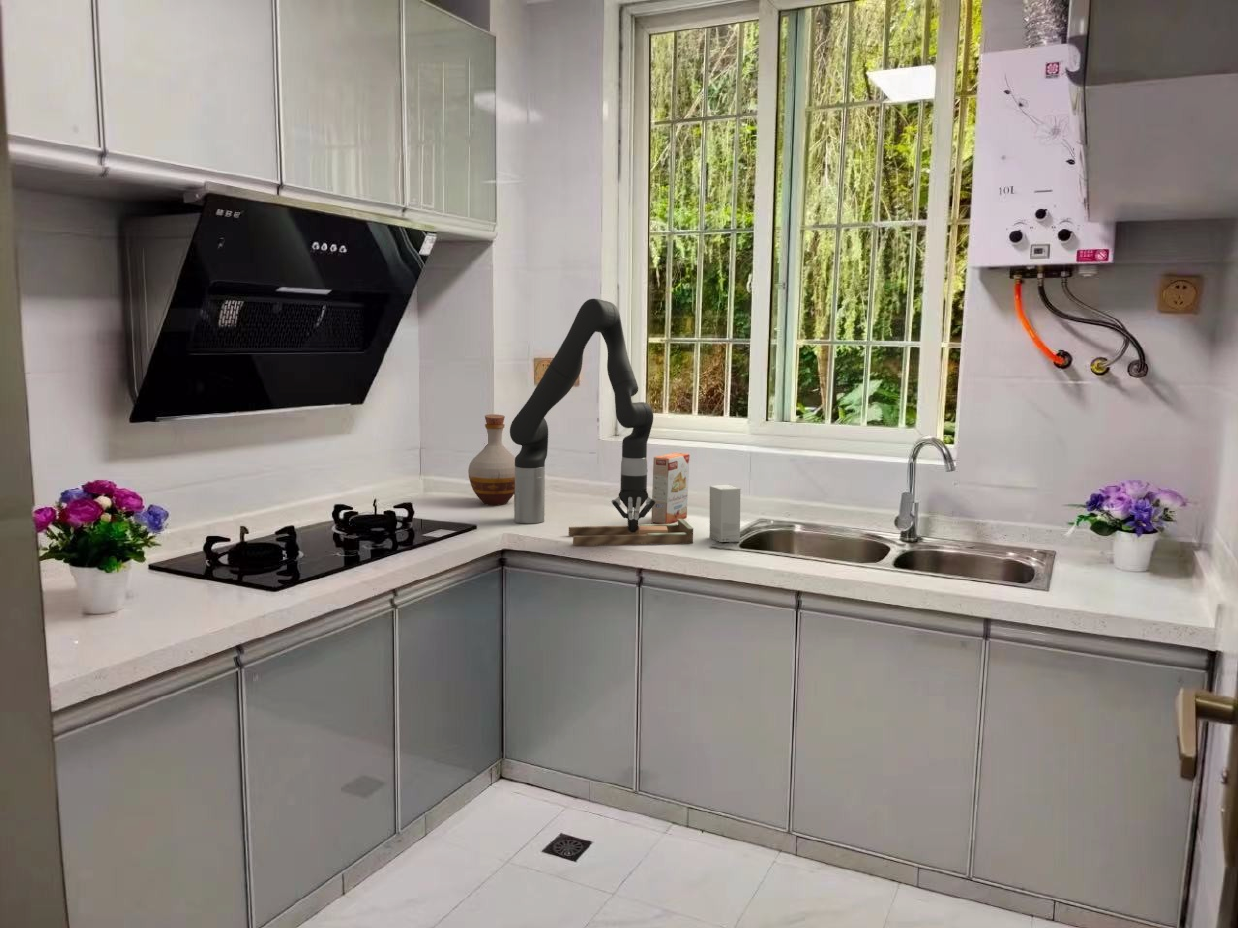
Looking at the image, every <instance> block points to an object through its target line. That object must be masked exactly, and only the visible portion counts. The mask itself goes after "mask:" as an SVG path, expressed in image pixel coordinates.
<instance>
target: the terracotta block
mask: <svg viewBox="0 0 1238 928" xmlns="http://www.w3.org/2000/svg"><path fill="white" fill-rule="evenodd" d="M647 533H668V529H667V526H639V534H647Z"/></svg>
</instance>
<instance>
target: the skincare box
mask: <svg viewBox="0 0 1238 928" xmlns="http://www.w3.org/2000/svg"><path fill="white" fill-rule="evenodd" d="M709 538H710V539H712V540H714V541H716V542H718V541H719V542H718V543H720V542H729V543H739V542H740V541H741V488H740V487H737V486H736V487H735V486H733V485H731V484H719V485H716V484H715V485H709Z"/></svg>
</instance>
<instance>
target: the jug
mask: <svg viewBox="0 0 1238 928" xmlns="http://www.w3.org/2000/svg"><path fill="white" fill-rule="evenodd" d="M505 417H506V416H505V415H503V414H498V413H495V414H494V413H493V414H486V415H484V418H485V424H484V427H485V429H486V434H488V444H487V445H486V446H485V447H484V446H483V448H482V450H481V451H479V453H477V454H476V455H475V457H473V458H472V460H471V461H470V463H469V466H468V468H467V469H468V471H467V472H468V480H469V483H470V486H471V488H472V490H473V492H474V494H475V495H476V497H477V498H478V499H479V501H481V503H482V504H483V503H484V504H483V505H486V504H488V505H487V506H503V505H507V504H508V503H509V501H510V500H511V499H512V497H514V489H515V457H516V456H514V455H513V454H512V453H511V452H510V451H509V450H508V448H506V447H505V446H504V445H503V441H502V439H503V430H504V428H505V424H504V422H505Z"/></svg>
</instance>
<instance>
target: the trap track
mask: <svg viewBox="0 0 1238 928" xmlns="http://www.w3.org/2000/svg"><path fill="white" fill-rule="evenodd" d="M639 526H667V529H668V533H647V534H639ZM568 537H572V543H573V544H572V545H573V546H574V547H579V546H580V547H581V546H582V547H584V546H627V545H633V546H634V545H667V544H669V545H673V544H674V545H676V544H693V543H694V527H692V525H691V524H689V523H688V522H687V521H686V519H685V518H684V519H678V521H677V523H669V524H658V523H652V524H651V523H650V524H649V523H648V524H645V523H644V524H643V523H641V524H638V530H637V531H636V533H631V532H630V531H629V530H628V525H597V526H596V525H595V526H592V525H591V526H568Z"/></svg>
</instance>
